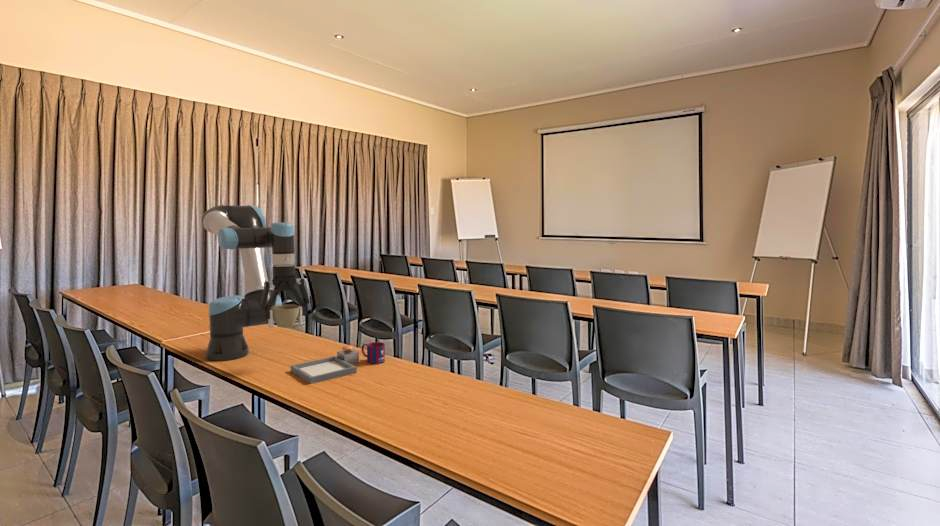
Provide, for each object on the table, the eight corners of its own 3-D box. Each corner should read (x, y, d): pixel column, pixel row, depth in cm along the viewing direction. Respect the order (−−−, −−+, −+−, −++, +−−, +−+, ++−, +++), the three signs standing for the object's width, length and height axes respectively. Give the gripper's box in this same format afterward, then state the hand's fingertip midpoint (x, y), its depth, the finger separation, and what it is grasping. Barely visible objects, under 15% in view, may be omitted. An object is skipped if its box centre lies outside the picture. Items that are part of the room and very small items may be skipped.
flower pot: (289, 330, 164) (288, 310, 163) (265, 328, 166) (264, 308, 166) (305, 324, 174) (305, 305, 173) (282, 322, 176) (282, 303, 175)
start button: (340, 355, 178) (340, 346, 178) (350, 353, 181) (349, 344, 180) (345, 357, 175) (345, 349, 175) (355, 355, 178) (355, 347, 177)
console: (337, 361, 178) (336, 351, 178) (351, 358, 182) (351, 348, 182) (344, 365, 174) (344, 355, 174) (358, 362, 178) (358, 352, 178)
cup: (376, 365, 174) (376, 347, 174) (357, 360, 180) (357, 343, 179) (388, 360, 180) (388, 343, 179) (369, 356, 185) (369, 339, 185)
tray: (291, 371, 167) (290, 365, 167) (334, 361, 179) (334, 356, 179) (311, 383, 155) (310, 377, 155) (356, 372, 166) (356, 366, 166)
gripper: (253, 268, 158) (256, 332, 160) (318, 264, 172) (319, 322, 174) (247, 266, 163) (250, 328, 166) (310, 262, 178) (312, 319, 180)
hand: (285, 325), depth 170 cm, fingers closed on flower pot, 10 cm apart
